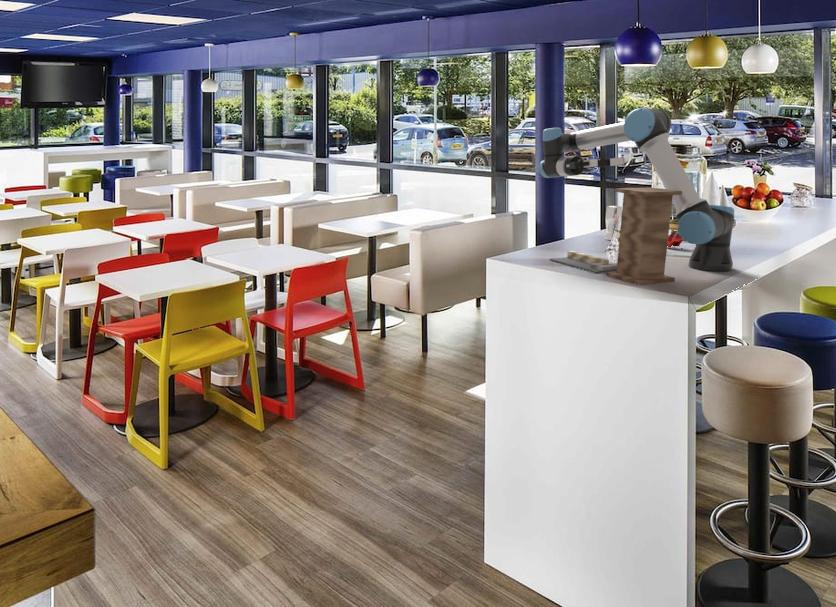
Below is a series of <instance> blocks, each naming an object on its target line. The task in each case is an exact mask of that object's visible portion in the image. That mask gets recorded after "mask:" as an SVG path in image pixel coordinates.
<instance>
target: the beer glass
mask: <svg viewBox="0 0 836 607" xmlns="http://www.w3.org/2000/svg"><path fill="white" fill-rule="evenodd" d="M622 207H623V206H620V205H607V206H606V211H605V227H606V228H605V236H604V240H605V239H607V240H606V241H611V238H612V236H613V234H614V230H615V228H616V229H619V230H620V227H621V218H622Z"/></svg>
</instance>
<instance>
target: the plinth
mask: <svg viewBox="0 0 836 607" xmlns="http://www.w3.org/2000/svg"><path fill="white" fill-rule="evenodd" d="M614 190H615V191H614V192H615V193H620V194H623V198H622V206H621V207H622V218H621V223H620V227H619V230H620V231H619V238H618V241H619V242H618V250H617V251H618V252H617V262H616V263H617V271H611V272H605V276H606V275H607V276H606V277H609V276H610V278H613V279H617V280H619V281H620V280H621V281H623V280H624V282H627V281H628V282H627V283H630V282H631V284H634V283H636V284H635V285H637V284H639V285H638V286H640V284H643V285H650V284H649V283H653V284H658V283H657V282H662V283H668V282H667V281H671V282H675V279H676V278H675V277H674V276H670V275H665V269H666V261H667V260H666V259H667V251H668V247H667V243H668V236H669V235H670V234H669V233H670V224H671V223H670V222H671V217H672V215H671V214H672V205H673V202H672V198H673V195H682V191H677V190H668V189H665V188H659V187H651V186H648V187H647V186H646V187H620V188H619V187H618V188H617V187H615V189H614Z"/></svg>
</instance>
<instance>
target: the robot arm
mask: <svg viewBox="0 0 836 607" xmlns="http://www.w3.org/2000/svg"><path fill="white" fill-rule="evenodd" d="M671 129H672V120H671V117H670V115H669V113H667V111H665V110H664V109H661V108H649V107H639V108H635V109H633V110H631V111H630V112H629V113H628V114H627V115H626V116H625V119H624V121H623V122H618V123H613V124H608V125H603V126H598V127H594V128H588V129H583V130H580V131H579V130H578V131H574V132H568V133H565V132H564V133H563V131H562V128H560V127H551V128H545V129H543V130H542V148H543V160H541V161H540V163H539V166H538V172H539V174H540V175H541V176H542V177H543V178H546V179H553V178H554V179H555V178H563V177H564V178H566V179H567V178H568V177H570V176H572V177H574V176H580V175H581V174H582V173H583V171H587V170H590V169H595V168H601V167H602V168H603V167H615V166H622V165H625V163H626V162H625V160H626V159H625V156H620V157H613V156H611V157H610V158H609V159H598V158H591V159H585V158H584V159H583V158H582V157H581V156H579V155H572V156H571V155H569V156H564V153H576V152H578V151H582V150H587V149H593V148H599V147H603V146H604V147H605V146H609V145H614V144H621V143H624V142H630V141H632V142H634V143H635V146H636V148H637V149H638V151H639V152H640V153H645V154H646V156H647V158H648V160H649V162H650V163H651V165H652V167H653V170H655V172H656V174H657V176H658V178H659V180H660V182H661V184H662V185H663V188H664V189H668V190H677V191H682V195H673V198H672V205H674V207H675V209H676V213H675V218H676V221H677V222H678V225H677V226H678V231H679V234H680V236H681V237H682V239H684V240H685V241H686V242H685V241H684V242H685V243H689V244H692V245H695V247H694V248H693V252H692V253H691V255H690V258H689V260H688V266H689V267H690V268H693V269H698V270H702V271H710V272H711V271H712V272H727V271H726V270H729V271H732V270H733V265H734V263H733V257H732V253H731V241H732V234H733V228H734V219H735V209H734V208H733V207H731V206H727V205H725V206H724V205H719V204H717V205H716V204H709V202H708V201H707V199H705V198H702V197H700V196H699V193H698V192H697V190H696V188H695V187H694V185H693V183H692V181H691V179H690V178H689V176H688V174H687V172H686V171H685V169H684V167H683V165H682V163H681V162H680V159H679V158H678V155H677V154H676V153H675V151H674V148H673V147H672V146H671V144H670V142H669V137H670V131H671ZM731 269H732V270H731Z"/></svg>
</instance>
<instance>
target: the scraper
mask: <svg viewBox="0 0 836 607" xmlns="http://www.w3.org/2000/svg"><path fill="white" fill-rule="evenodd" d="M567 258H570V259H573V260H577V261H581V262H585V263H588V264H591V267H592V268H596V269H600V270H611V269H617V262H615V261H610V259H607V258H602V257H599V256H596V255H591V254H587V253H583V252H579V251H576V250H567Z"/></svg>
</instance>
